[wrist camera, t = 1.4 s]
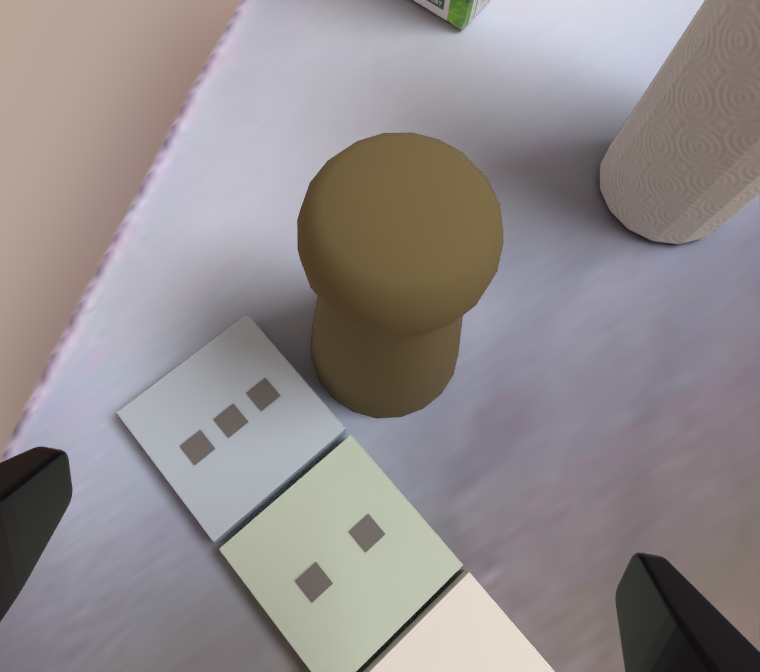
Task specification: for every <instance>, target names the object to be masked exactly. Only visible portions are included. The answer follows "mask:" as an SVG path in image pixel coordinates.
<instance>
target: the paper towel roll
mask: <svg viewBox="0 0 760 672" xmlns="http://www.w3.org/2000/svg"><path fill="white" fill-rule="evenodd" d="M600 190H601V192H602V195H603V197H604V199H605V201H606V204H607V206H608V208H609V210H610V211H611V212H612V213H613V214H614V215H615V216H616V217H617V218H618V219H619V220H620V221H621V222H622V223H623V224H624V225H625V226H626V227H627V228H628V229H629V230H631V231H633V232H635V233H637V234H639V235H641V236H643V237H645V238H647V239H649V240H651V241H656V242H664V243H672V244H682V243H686V242H690V241H694V240H698V239H702V238H706V237H708V236H709V235H710V234H711V233H712V232H714V231H715V230H716V229H717V228H719V227H720V226H721V225H722V224H724V223H725V222H726V221H727V220H728V219H730V218H731V217H732V216H733V215H734V214H736V213H737V212H738V211H739V210H740V209H742V208H743V207H744V206H745V205H746V204H748V203H749V202H750V201H751V200H752V199H754V198H755V197H756V196H757V195H758V194H760V0H705V1H704V3H703V4H702V6H701V7H700V9H699V10H698V12H697V13H696V15H695V16H694V18H693V19H692V21H691V22H690V24H689V26H688V27H687V29H686V30H685V32H684V33H683V35H682V36H681V38H680V39H679V41H678V42H677V44H676V45H675V47H674V48H673V50H672V51H671V53H670V54H669V56H668V58H667V59H666V61H665V62H664V64H663V65H662V67H661V68H660V70H659V71H658V73H657V74H656V76H655V77H654V79H653V80H652V82H651V83H650V85H649V87H648V88H647V90H646V91H645V93H644V94H643V96H642V97H641V99H640V100H639V102H638V103H637V105H636V106H635V108H634V109H633V111H632V112H631V114H630V116H629V117H628V119H627V120H626V122H625V123H624V125H623V126H622V128H621V129H620V131H619V132H618V134H617V135H616V137H615V138H614V140H613V141H612V143H611V144H610V146H609V148H608V150H607V152H606V154H605V156H604V158H603V160H602V162H601V164H600Z"/></svg>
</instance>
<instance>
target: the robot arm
mask: <svg viewBox="0 0 760 672" xmlns="http://www.w3.org/2000/svg"><path fill="white" fill-rule="evenodd" d="M71 497H72V482H71V474H70V467H69V459H68V455H67V454H66V452H65V451H63V450H60V449H54V448H48V447H36V448H33V449H31V450H28V451H26V452H24V453H21V454H19V455H17V456H15V457H12V458H10V459H8V460H6V461H3V462H1V463H0V621H1V620H2V618H3V617H4V615H5V614H6V613H7V611H8V610H9V608H10V607H11V605H12V604H13V602H14V601H15V599H16V598H17V596H18V595H19V593H20V591H21V590H22V588H23V586H24V585H25V583H26V581H27V579H28V578H29V576H30V574H31V572H32V571H33V569H34V567H35V565H36V563H37V561H38V560H39V558H40V556H41V554H42V552H43V551H44V549H45V547H46V545H47V543H48V542H49V540H50V538H51V536H52V534H53V533H54V531H55V529H56V527H57V525H58V524H59V522H60V520H61V518H62V516H63V515H64V513H65V511H66V509H67V507H68V505H69V503H70V501H71ZM616 610H617V617H618V624H619V631H620V639H621V646H622V653H623V660H624V667H625V672H760V652H759V651H758V650H757V649H756V648H755V647H754V646H753V645H752V644H751V643H750V642H749V641H748V640H747V639H746V638H745V637H744V636H743V635H742V634H741V633H740V632H739V631H738V630H737V629H736V628H735V627H734V626H733V625H732V624H731V623H730V622H729V621H728V620H727V619H726V618H725V617H724V616H723V615H722V614H721V613H720V612H719V611H718V610H717V609H716V608H715V607H714V606H713V605H712V604H711V603H710V602H709V601H708V600H707V599H706V598H705V597H704V596H703V595H702V594H701V593H700V592H699V591H698V590H697V589H696V588H695V587H694V586H693V585H692V584H691V583H690V582H689V581H688V580H687V579H686V578H685V577H684V576H683V575H682V574H681V573H680V572H679V571H678V570H677V569H676V568H675V567H674V566H673V565H672V564H671V563H670V562H669V561H667V560H666V559H665V558H663V557H661V556H657V555H651V554H646V553H636V554H634V555H633V556H632V558H631V560H630V562H629V564H628V566H627V568H626V570H625V572H624V574H623V576H622V578H621V580H620V583H619V585H618V587H617V590H616Z"/></svg>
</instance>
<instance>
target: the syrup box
mask: <svg viewBox="0 0 760 672" xmlns="http://www.w3.org/2000/svg"><path fill="white" fill-rule="evenodd" d="M413 1H415V2H417V3H418V4H420V5H422V6H423V7H425V8H427V9H428V10H430V11H432V12H433V13H435V14H436V15H438V16H440V17H441V18H443V19H445V20H446V21H448V22H450V23H451V24H452V25H454V26H455V27H457V28H459V29H461V30H463V29H464V28H465V27H466V26H467V25H468V24H469V23H470V22H471V20H472V19H473V18H474V17H475V16H476V15H477V14H478V13H479V12H480V11H481V10H482V9H483V8H484V7H485V6H486V4H487V3H488V2H489V1H490V0H413Z"/></svg>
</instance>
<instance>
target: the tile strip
mask: <svg viewBox="0 0 760 672" xmlns="http://www.w3.org/2000/svg"><path fill="white" fill-rule="evenodd" d="M117 414H118V415H119V417H120V418H121V419H122V421H123V422H124V423H125V425H126V426H127V427H128V429H129V430H130V431H131V433H132V434H133V435H134V437H135V438H136V439H137V441H138V442H139V443H140V445H141V446H142V447H143V449H144V450H145V451H146V453H147V454H148V455H149V457H150V458H151V459H152V461H153V462H154V463H155V465H156V466H157V467H158V469H159V470H160V471H161V473H162V474H163V475H164V477H165V478H166V479H167V481H168V482H169V483H170V485H171V486H172V487H173V489H174V490H175V491H176V493H177V494H178V495H179V497H180V498H181V499H182V501H183V502H184V503H185V505H186V506H187V507H188V509H189V510H190V511H191V513H192V514H193V515H194V517H195V518H196V519H197V521H198V522H199V523H200V525H201V526H202V527H203V529H204V530H205V531H206V533H207V534H208V535H209V537H210V538H211V539H212V541H213V542H219V541H221V540H223V539H224V538H225V537H226V536H227V535H228V534H229V533H231V532H232V531H233V530H234V529H235V528H236V527H238V526H239V525H240V524H241V523H242V522H243V521H245V520H246V519H247V518H248V517H249V516H250V515H252V514H253V513H254V512H255V511H256V510H257V509H258V508H260V507H261V506H262V505H263V504H264V503H265V502H267V501H268V500H269V499H270V498H271V497H272V496H274V495H275V494H276V493H277V492H278V491H279V490H280V489H282V488H283V487H284V486H285V485H286V484H287V483H289V482H290V481H291V480H292V479H293V478H294V477H296V476H297V475H298V474H299V473H300V472H301V471H303V470H304V469H305V468H306V467H307V466H308V465H309V464H311V463H312V462H313V461H314V460H315V459H316V458H318V457H319V456H320V455H321V454H322V453H323V452H325V451H326V450H327V449H328V448H329V447H330V446H331V445H333V444H334V443H335V442H336V441H337V440H338V439H340V438H341V437H342V436H343V435H344V434H345V433H346V428H345V427H344V426H343V425H342V424H341V422H340V421H339V420H338V419H337V418H336V417H335V415H334V414H333V413H332V412H331V411H330V410H329V408H328V407H327V406H326V405H325V404H324V403H323V401H322V400H321V399H320V398H319V397H318V396H317V394H316V393H315V392H314V391H313V390H312V389H311V387H310V386H309V385H308V384H307V383H306V382H305V380H304V379H303V378H302V377H301V376H300V375H299V373H298V372H297V371H296V370H295V369H294V368H293V367H292V365H291V364H290V363H289V362H288V361H287V360H286V358H285V357H284V356H283V355H282V354H281V353H280V351H279V350H278V349H277V348H276V347H275V346H274V344H273V343H272V342H271V341H270V340H269V339H268V337H267V336H266V335H265V334H264V333H263V332H262V330H261V329H260V328H259V327H258V326H257V325H256V323H255V322H254V321H253V320H252V319H251V318H250V316H249V315H248V314H246V315H245V316H243V317H242V318H241V319H239V320H238V321H237V322H235V323H234V324H233V325H231V326H230V327H229V328H227V329H226V330H225V331H223V332H222V333H221V334H220V335H218V336H217V337H216V338H214V339H213V340H212V341H210V342H209V343H208V344H206V345H205V346H204V347H202V348H201V349H200V350H198V351H197V352H196V353H195V354H193V355H192V356H191V357H189V358H188V359H187V360H185V361H184V362H183V363H181V364H180V365H179V366H177V367H176V368H175V369H173V370H172V371H171V372H170V373H168V374H167V375H166V376H164V377H163V378H162V379H160V380H159V381H158V382H156V383H155V384H154V385H152V386H151V387H150V388H148V389H147V390H146V391H145V392H143V393H142V394H141V395H139V396H138V397H137V398H135V399H134V400H133V401H131V402H130V403H129V404H127V405H126V406H125V407H123V408H122V409H121V410H120V411H118V412H117ZM219 550H220V551H221V552H222V554H223V555H224V556H225V558H226V559H227V560H228V562H229V563H230V564H231V566H232V567H233V568H234V570H235V571H236V572H237V574H238V575H239V576H240V578H241V579H242V580H243V582H244V583H245V584H246V586H247V587H248V588H249V590H250V591H251V592H252V594H253V595H254V596H255V598H256V599H257V600H258V602H259V603H260V604H261V606H262V607H263V608H264V610H265V611H266V612H267V614H268V615H269V616H270V618H271V619H272V620H273V622H274V623H275V624H276V626H277V627H278V628H279V630H280V631H281V632H282V634H283V635H284V636H285V638H286V639H287V640H288V642H289V643H290V644H291V646H292V647H293V648H294V650H295V651H296V652H297V654H298V655H299V656H300V658H301V659H302V660H303V662H304V663H305V664H306V666H307V667H308V668H309V670H310V671H311V672H356V671H357V670H358V669H359V668H360V667H361V666H362V665H363V664H364V663H365V662H366V661H367V660H368V659H369V658H370V657H371V656H372V655H373V654H374V653H375V652H376V651H377V650H378V649H379V648H380V647H381V646H382V645H383V644H384V643H385V642H386V641H387V640H388V639H389V638H390V637H391V636H392V635H393V634H394V633H395V632H396V631H397V630H398V629H399V628H400V627H401V626H402V625H403V624H404V623H406V622H407V621H408V620H409V619H410V618H411V617H412V616H413V615H414V614H415V613H416V612H417V611H418V610H419V609H420V608H421V607H422V606H423V605H424V604H425V603H426V602H427V601H428V600H429V599H430V598H431V597H432V596H433V595H434V594H435V593H436V592H437V591H438V590H439V589H440V588H441V587H442V586H443V585H444V584H445V583H446V582H447V581H448V580H449V579H450V578H451V577H452V576H453V575H454V574H455V573H456V572H457V571H458V570H459V569H460V568H461V567H462V566H463V564H462V563H461V562H460V561H459V560H458V559H457V557H456V556H455V555H454V554H453V553H452V552H451V550H450V549H449V548H448V547H447V546H446V545H445V543H444V542H443V541H442V540H441V539H440V538H439V536H438V535H437V534H436V533H435V532H434V531H433V529H432V528H431V527H430V526H429V525H428V524H427V522H426V521H425V520H424V519H423V518H422V517H421V515H420V514H419V513H418V512H417V511H416V510H415V508H414V507H413V506H412V505H411V504H410V503H409V502H408V500H407V499H406V498H405V497H404V496H403V495H402V493H401V492H400V491H399V490H398V489H397V488H396V486H395V485H394V484H393V483H392V482H391V481H390V479H389V478H388V477H387V476H386V475H385V474H384V472H383V471H382V470H381V469H380V468H379V467H378V465H377V464H376V463H375V462H374V461H373V460H372V458H371V457H370V456H369V455H368V454H367V453H366V451H365V450H364V449H363V448H362V447H361V446H360V444H359V443H358V442H357V441H356V440H355V439H354V437H353V436H352V435H350V436H349V437H348V438H347V439H345V440H344V441H343V442H342V443H341V444H340V445H338V446H337V447H336V448H335V449H334V450H333V451H332V452H330V453H329V454H328V455H327V456H326V457H325V458H323V459H322V460H321V461H320V462H319V463H318V464H316V465H315V466H314V467H313V468H312V469H311V470H310V471H308V472H307V473H306V474H305V475H304V476H303V477H301V478H300V479H299V480H298V481H297V482H296V483H295V484H293V485H292V486H291V487H290V488H289V489H288V490H286V491H285V492H284V493H283V494H282V495H281V496H280V497H278V498H277V499H276V500H275V501H274V502H273V503H271V504H270V505H269V506H268V507H267V508H266V509H265V510H263V511H262V512H261V513H260V514H259V515H258V516H256V517H255V518H254V519H253V520H252V521H251V522H250V523H248V524H247V525H246V526H245V527H244V528H243V529H241V530H240V531H239V532H238V533H237V534H236V535H234V536H233V537H232V538H231V539H230V540H229V541H228V542H226V543H225V544H224V545H223V546H222V547H221V548H219ZM362 672H555V671H554V670H553V669H552V668H551V667H550V666H549V664H548V663H547V662H546V661H545V660H544V659H543V657H542V656H541V655H540V654H539V653H538V652H537V650H536V649H535V648H534V647H533V646H532V645H531V643H530V642H529V641H528V640H527V639H526V638H525V637H524V635H523V634H522V633H521V632H520V631H519V630H518V628H517V627H516V626H515V625H514V624H513V623H512V621H511V620H510V619H509V618H508V617H507V616H506V614H505V613H504V612H503V611H502V610H501V609H500V607H499V606H498V605H497V604H496V603H495V602H494V600H493V599H492V598H491V597H490V596H489V595H488V593H487V592H486V591H485V590H484V589H483V588H482V586H481V585H480V584H479V583H478V582H477V581H476V579H475V578H474V577H473V576H472V575H471V574H470V573H469V572H468V571H465V570H464V571H463V572H462V573H461V574H460V575H459V576H458V577H457V578H456V579H455V580H454V581H453V582H452V583H451V584H450V585H449V586H448V587H447V588H446V589H445V590H444V591H443V592H442V593H441V594H440V595H439V596H438V597H437V598H436V599H435V600H434V601H433V602H432V603H431V604H430V605H429V606H428V607H427V608H426V609H425V610H424V611H423V612H422V613H421V614H420V615H419V616H418V617H417V618H416V619H415V620H414V621H413V622H412V623H411V624H410V625H409V626H408V627H407V628H406V629H405V630H404V631H403V632H402V633H401V634H400V635H399V636H398V637H397V638H396V639H395V640H394V641H393V642H392V643H391V644H390V645H389V646H388V647H387V648H386V649H385V650H384V651H383V652H382V653H381V654H380V655H379V656H378V657H377V658H376V659H375V660H373V661H372V662H371V663H370V664H369V665H368V666H367V667H366V668H365V669H364V670H363V671H362Z"/></svg>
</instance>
